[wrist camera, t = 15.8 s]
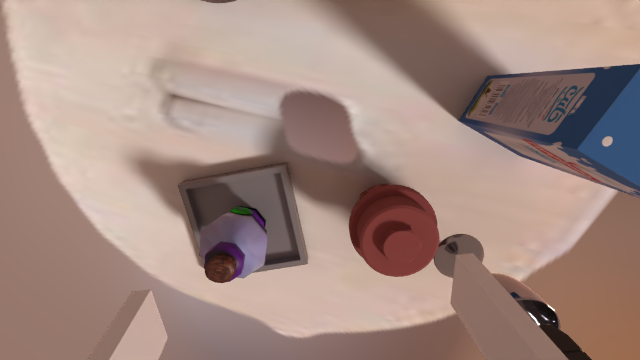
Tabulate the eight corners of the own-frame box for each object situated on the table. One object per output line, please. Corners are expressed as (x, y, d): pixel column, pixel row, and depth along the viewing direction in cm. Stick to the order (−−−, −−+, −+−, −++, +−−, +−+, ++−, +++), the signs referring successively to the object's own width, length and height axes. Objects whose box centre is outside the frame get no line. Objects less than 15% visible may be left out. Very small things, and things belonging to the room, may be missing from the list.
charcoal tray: (183, 181, 44) (177, 185, 42) (286, 162, 43) (285, 165, 41) (213, 272, 47) (208, 279, 46) (308, 257, 46) (307, 264, 45)
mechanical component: (394, 248, 46) (333, 219, 45) (431, 189, 43) (367, 157, 42) (417, 303, 34) (335, 265, 33) (471, 228, 31) (383, 184, 30)
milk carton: (551, 114, 40) (758, 138, 21) (520, 156, 42) (686, 214, 22) (487, 75, 39) (642, 63, 20) (457, 120, 41) (576, 149, 21)
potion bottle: (267, 189, 43) (246, 226, 32) (283, 245, 45) (269, 298, 34) (208, 202, 44) (166, 243, 32) (227, 256, 46) (194, 312, 35)
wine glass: (497, 258, 46) (576, 335, 32) (453, 289, 48) (508, 377, 33) (465, 220, 44) (531, 284, 30) (420, 255, 46) (463, 330, 32)
